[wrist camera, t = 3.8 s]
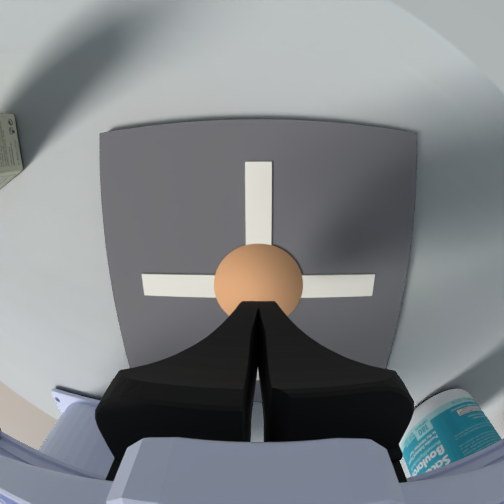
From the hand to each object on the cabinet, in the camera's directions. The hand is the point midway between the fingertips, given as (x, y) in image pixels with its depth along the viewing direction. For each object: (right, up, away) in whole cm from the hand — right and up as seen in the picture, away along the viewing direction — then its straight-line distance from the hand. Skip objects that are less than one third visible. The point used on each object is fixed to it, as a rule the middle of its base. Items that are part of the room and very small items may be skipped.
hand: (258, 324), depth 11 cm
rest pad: (0, +1, +4) cm, 4 cm away
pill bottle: (+15, -11, +8) cm, 20 cm away
